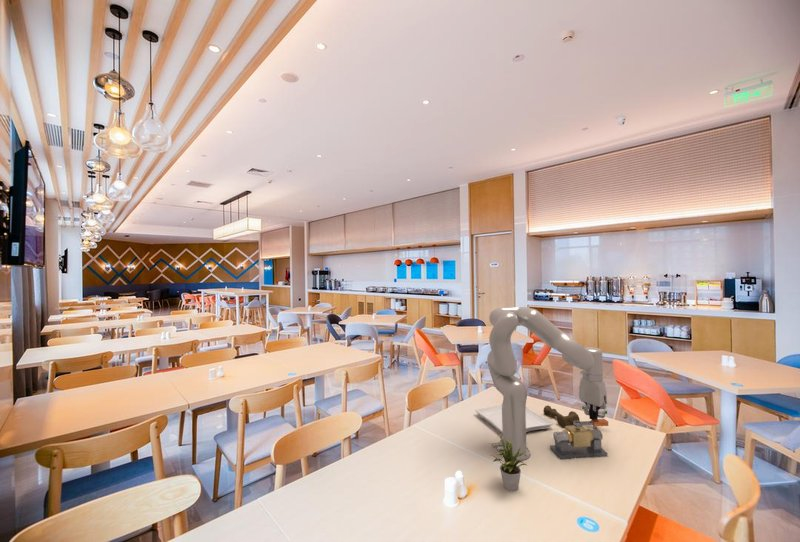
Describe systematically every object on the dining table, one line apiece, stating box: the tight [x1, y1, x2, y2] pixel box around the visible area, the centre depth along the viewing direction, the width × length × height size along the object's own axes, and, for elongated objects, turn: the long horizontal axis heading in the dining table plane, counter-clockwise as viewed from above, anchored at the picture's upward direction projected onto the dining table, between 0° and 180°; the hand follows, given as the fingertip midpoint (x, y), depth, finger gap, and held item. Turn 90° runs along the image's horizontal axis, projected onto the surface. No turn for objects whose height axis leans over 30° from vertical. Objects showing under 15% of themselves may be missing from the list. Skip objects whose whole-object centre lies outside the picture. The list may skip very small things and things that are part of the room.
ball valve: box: [549, 424, 608, 460], centre depth 141 cm, size 20×8×11 cm, turn 94°
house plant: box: [488, 434, 528, 492], centre depth 122 cm, size 14×14×16 cm
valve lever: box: [572, 418, 609, 427], centre depth 142 cm, size 14×3×2 cm, turn 93°
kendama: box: [543, 405, 580, 428], centre depth 170 cm, size 6×10×20 cm
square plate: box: [474, 404, 554, 434], centre depth 170 cm, size 27×27×4 cm
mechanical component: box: [581, 404, 608, 430], centre depth 162 cm, size 3×10×10 cm, turn 53°
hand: (593, 418), depth 147 cm, fingers closed
